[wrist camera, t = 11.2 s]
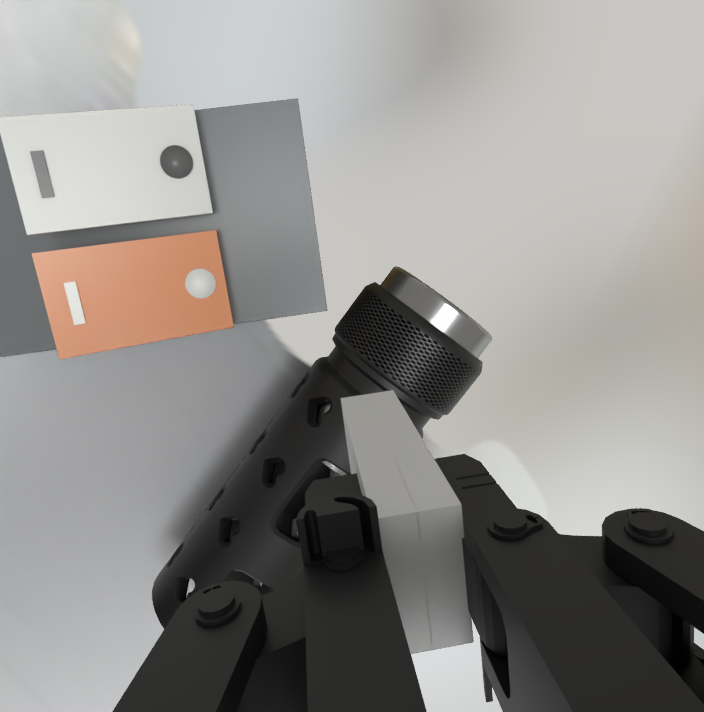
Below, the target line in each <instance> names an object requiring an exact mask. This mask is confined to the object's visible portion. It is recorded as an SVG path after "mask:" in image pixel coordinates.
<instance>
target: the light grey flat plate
mask: <svg viewBox="0 0 704 712" xmlns="http://www.w3.org/2000/svg"><path fill="white" fill-rule="evenodd" d="M0 134H1V138H2V142H3V146H4V150H5V153H6V157H7V161H8V165H9V169H10V172H11V176H12V180H13V184H14V187H15V191H16V195H17V199H18V203H19V206H20V210H21V214H22V218H23V222H24V225H25V229H26V233H27V235H39V234H47V233H55V232H64V231H72V230H80V229H89V228H97V227H105V226H114V225H122V224H130V223H139V222H147V221H156V220H164V219H172V218H181V217H189V216H197V215H206V214H212V213H213V211H212V205H211V200H210V194H209V189H208V183H207V178H206V172H205V167H204V161H203V156H202V150H201V145H200V139H199V134H198V128H197V123H196V117H195V112H194V106H193V105H192V104H191V105H176V106H160V107H146V108H130V109H115V110H100V111H85V112H70V113H55V114H40V115H25V116H10V117H0Z"/></svg>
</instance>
